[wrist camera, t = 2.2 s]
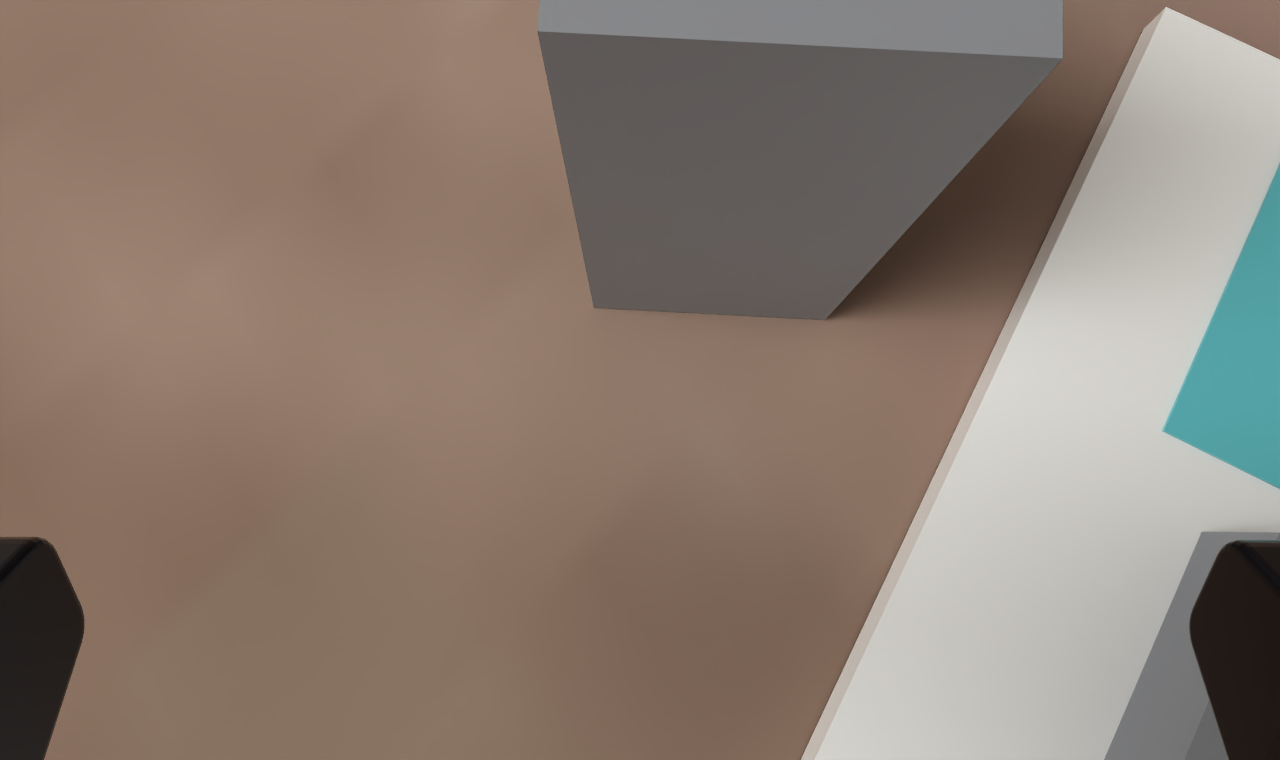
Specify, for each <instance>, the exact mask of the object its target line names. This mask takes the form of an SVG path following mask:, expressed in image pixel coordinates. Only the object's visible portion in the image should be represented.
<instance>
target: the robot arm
mask: <svg viewBox="0 0 1280 760" xmlns="http://www.w3.org/2000/svg"><path fill="white" fill-rule="evenodd" d="M1189 632H1190V640H1191V644H1192V647H1193V651H1194V654H1195V657H1196V660H1197V663H1198V666H1199V670H1200V673H1201V676H1202V679H1203V682H1204V685H1205V689H1206V692H1207V695H1208V698H1209V701H1210V705H1211V708H1212V711H1213V714H1214V717H1215V720H1216V724H1217V727H1218V730H1219V733H1220V736H1221V739H1222V743H1223V746H1224V749H1225V752H1226V755H1227V758H1228V760H1280V541H1278V540H1234V541H1231V542H1228V543H1227V544H1226V545H1224V546H1223V547H1222V548H1221V549H1220V551H1219V552H1218V554H1217V556H1216V558H1215V560H1214V563H1213V565H1212V567H1211V569H1210V571H1209V574H1208V576H1207V578H1206V580H1205V582H1204V584H1203V587H1202V589H1201V591H1200V593H1199V595H1198V597H1197V600H1196V602H1195V604H1194V606H1193V608H1192V611H1191V615H1190V621H1189ZM83 634H84V615H83V610H82V607H81V604H80V602H79V600H78V598H77V595H76V593H75V591H74V589H73V587H72V584H71V582H70V580H69V578H68V576H67V573H66V571H65V569H64V567H63V565H62V562H61V560H60V558H59V556H58V554H57V551H56V550H55V548H54V546H53V545H52V544H50V543H49V542H48V541H47V540H45V539H42V538H39V537H0V760H44V758H45V755H46V752H47V749H48V745H49V742H50V739H51V736H52V733H53V730H54V727H55V724H56V721H57V718H58V715H59V711H60V708H61V705H62V702H63V699H64V696H65V693H66V690H67V687H68V684H69V680H70V677H71V674H72V671H73V668H74V665H75V662H76V659H77V656H78V653H79V649H80V646H81V643H82V639H83Z"/></svg>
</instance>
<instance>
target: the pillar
mask: <svg viewBox="0 0 1280 760" xmlns="http://www.w3.org/2000/svg"><path fill="white" fill-rule="evenodd" d="M538 36H539V41H540V46H541V51H542V56H543V61H544V65H545V70H546V75H547V80H548V85H549V90H550V95H551V100H552V105H553V110H554V115H555V119H556V124H557V129H558V134H559V139H560V144H561V149H562V154H563V159H564V164H565V168H566V173H567V178H568V183H569V188H570V193H571V198H572V203H573V208H574V213H575V217H576V222H577V227H578V232H579V237H580V242H581V247H582V252H583V257H584V262H585V267H586V271H587V276H588V281H589V286H590V291H591V296H592V301H593V306H594V308H606V309H625V310H644V311H663V312H682V313H700V314H719V315H738V316H757V317H776V318H795V319H813V320H826V318H827V317H828V316H829V315H830V314H831V313H832V312H833V311H834V310H835V309H836V307H837V306H838V305H839V304H840V303H841V302H842V301H843V300H844V299H845V298H846V296H847V295H848V294H849V293H850V292H851V291H852V290H853V289H854V288H855V287H856V285H857V284H858V283H859V282H860V281H861V280H862V279H863V278H864V277H865V276H866V274H867V273H868V272H869V271H870V270H871V269H872V268H873V267H874V266H875V265H876V263H877V262H878V261H879V260H880V259H881V258H882V257H883V256H884V255H885V254H886V252H887V251H888V250H889V249H890V248H891V247H892V246H893V245H894V244H895V243H896V241H897V240H898V239H899V238H900V237H901V236H902V235H903V234H904V233H905V232H906V230H907V229H908V228H909V227H910V226H911V225H912V224H913V223H914V222H915V221H916V219H917V218H918V217H919V216H920V215H921V214H922V213H923V212H924V211H925V210H926V208H927V207H928V206H929V205H930V204H931V203H932V202H933V201H934V200H935V199H936V197H937V196H938V195H939V194H940V193H941V192H942V191H943V190H944V189H945V188H946V186H947V185H948V184H949V183H950V182H951V181H952V180H953V179H954V178H955V177H956V175H957V174H958V173H959V172H960V171H961V170H962V169H963V168H964V167H965V166H966V164H967V163H968V162H969V161H970V160H971V159H972V158H973V157H974V156H975V155H976V153H977V152H978V151H979V150H980V149H981V148H982V147H983V146H984V145H985V144H986V142H987V141H988V140H989V139H990V138H991V137H992V136H993V135H994V134H995V133H996V131H997V130H998V129H999V128H1000V127H1001V126H1002V125H1003V124H1004V123H1005V122H1006V120H1007V119H1008V118H1009V117H1010V116H1011V115H1012V114H1013V113H1014V112H1015V111H1016V109H1017V108H1018V107H1019V106H1020V105H1021V104H1022V103H1023V102H1024V101H1025V100H1026V98H1027V97H1028V96H1029V95H1030V94H1031V93H1032V92H1033V91H1034V90H1035V89H1036V87H1037V86H1038V85H1039V84H1040V83H1041V82H1042V81H1043V80H1044V79H1045V78H1046V76H1047V75H1048V74H1049V73H1050V72H1051V71H1052V70H1053V69H1054V68H1055V67H1056V65H1057V64H1058V63H1059V62H1060V61H1061V60H1062V59H1063V0H540V4H539V18H538Z"/></svg>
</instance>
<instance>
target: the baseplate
mask: <svg viewBox="0 0 1280 760" xmlns="http://www.w3.org/2000/svg"><path fill="white" fill-rule="evenodd" d="M1234 540H1278V541H1280V59H1277V58H1275V57H1273V56H1271V55H1269V54H1267V53H1265V52H1262V51H1260V50H1258V49H1256V48H1254V47H1252V46H1249V45H1247V44H1245V43H1243V42H1241V41H1239V40H1237V39H1234V38H1232V37H1230V36H1228V35H1226V34H1224V33H1221V32H1219V31H1217V30H1215V29H1213V28H1211V27H1209V26H1206V25H1204V24H1202V23H1200V22H1198V21H1196V20H1193V19H1191V18H1189V17H1187V16H1185V15H1183V14H1181V13H1178V12H1176V11H1174V10H1172V9H1170V8H1168V7H1165V8H1164V9H1163V10H1162V11H1161V12H1160V13H1159V14H1158V15H1157V16H1156V17H1155V18H1154V19H1153V20H1152V21H1151V22H1150V23H1149V24H1148V25H1147V26H1146V27H1145V28H1144V29H1143V31H1142V33H1141V35H1140V37H1139V40H1138V42H1137V44H1136V46H1135V48H1134V50H1133V52H1132V55H1131V57H1130V59H1129V61H1128V63H1127V65H1126V67H1125V69H1124V72H1123V74H1122V76H1121V78H1120V80H1119V82H1118V84H1117V87H1116V89H1115V91H1114V93H1113V95H1112V97H1111V99H1110V101H1109V104H1108V106H1107V108H1106V110H1105V112H1104V114H1103V116H1102V119H1101V121H1100V123H1099V125H1098V127H1097V129H1096V131H1095V133H1094V136H1093V138H1092V140H1091V142H1090V144H1089V146H1088V148H1087V150H1086V153H1085V155H1084V157H1083V159H1082V161H1081V163H1080V165H1079V168H1078V170H1077V172H1076V174H1075V176H1074V178H1073V180H1072V182H1071V185H1070V187H1069V189H1068V191H1067V193H1066V195H1065V197H1064V200H1063V202H1062V204H1061V206H1060V208H1059V210H1058V212H1057V214H1056V217H1055V219H1054V221H1053V223H1052V225H1051V227H1050V229H1049V232H1048V234H1047V236H1046V238H1045V240H1044V242H1043V244H1042V246H1041V249H1040V251H1039V253H1038V255H1037V257H1036V259H1035V261H1034V264H1033V266H1032V268H1031V270H1030V272H1029V274H1028V276H1027V278H1026V281H1025V283H1024V285H1023V287H1022V289H1021V291H1020V293H1019V295H1018V298H1017V300H1016V302H1015V304H1014V306H1013V308H1012V310H1011V313H1010V315H1009V317H1008V319H1007V321H1006V323H1005V325H1004V327H1003V330H1002V332H1001V334H1000V336H999V338H998V340H997V342H996V345H995V347H994V349H993V351H992V353H991V355H990V357H989V359H988V362H987V364H986V366H985V368H984V370H983V372H982V374H981V377H980V379H979V381H978V383H977V385H976V387H975V389H974V391H973V394H972V396H971V398H970V400H969V402H968V404H967V406H966V409H965V411H964V413H963V415H962V417H961V419H960V421H959V423H958V426H957V428H956V430H955V432H954V434H953V436H952V438H951V440H950V443H949V445H948V447H947V449H946V451H945V453H944V455H943V458H942V460H941V462H940V464H939V466H938V468H937V470H936V472H935V475H934V477H933V479H932V481H931V483H930V485H929V487H928V490H927V492H926V494H925V496H924V498H923V500H922V502H921V504H920V507H919V509H918V511H917V513H916V515H915V517H914V519H913V522H912V524H911V526H910V528H909V530H908V532H907V534H906V536H905V539H904V541H903V543H902V545H901V547H900V549H899V551H898V554H897V556H896V558H895V560H894V562H893V564H892V566H891V568H890V571H889V573H888V575H887V577H886V579H885V581H884V583H883V585H882V588H881V590H880V592H879V594H878V596H877V598H876V600H875V603H874V605H873V607H872V609H871V611H870V613H869V615H868V617H867V620H866V622H865V624H864V626H863V628H862V630H861V632H860V635H859V637H858V639H857V641H856V643H855V645H854V647H853V649H852V652H851V654H850V656H849V658H848V660H847V662H846V664H845V667H844V669H843V671H842V673H841V675H840V677H839V679H838V681H837V684H836V686H835V688H834V690H833V692H832V694H831V696H830V699H829V701H828V703H827V705H826V707H825V709H824V711H823V713H822V716H821V718H820V720H819V722H818V724H817V726H816V728H815V730H814V733H813V735H812V737H811V739H810V741H809V743H808V745H807V748H806V750H805V752H804V754H803V756H802V758H801V760H1228V758H1227V755H1226V752H1225V749H1224V746H1223V743H1222V739H1221V736H1220V733H1219V730H1218V727H1217V724H1216V720H1215V717H1214V714H1213V711H1212V708H1211V705H1210V701H1209V698H1208V695H1207V692H1206V689H1205V685H1204V682H1203V679H1202V676H1201V673H1200V670H1199V666H1198V663H1197V660H1196V657H1195V654H1194V651H1193V647H1192V644H1191V640H1190V632H1189V621H1190V615H1191V611H1192V608H1193V606H1194V604H1195V602H1196V600H1197V597H1198V595H1199V593H1200V591H1201V589H1202V587H1203V584H1204V582H1205V580H1206V578H1207V576H1208V574H1209V571H1210V569H1211V567H1212V565H1213V563H1214V560H1215V558H1216V556H1217V554H1218V552H1219V551H1220V549H1221V548H1222V547H1223V546H1224V545H1226V544H1227V543H1228V542H1231V541H1234Z"/></svg>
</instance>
